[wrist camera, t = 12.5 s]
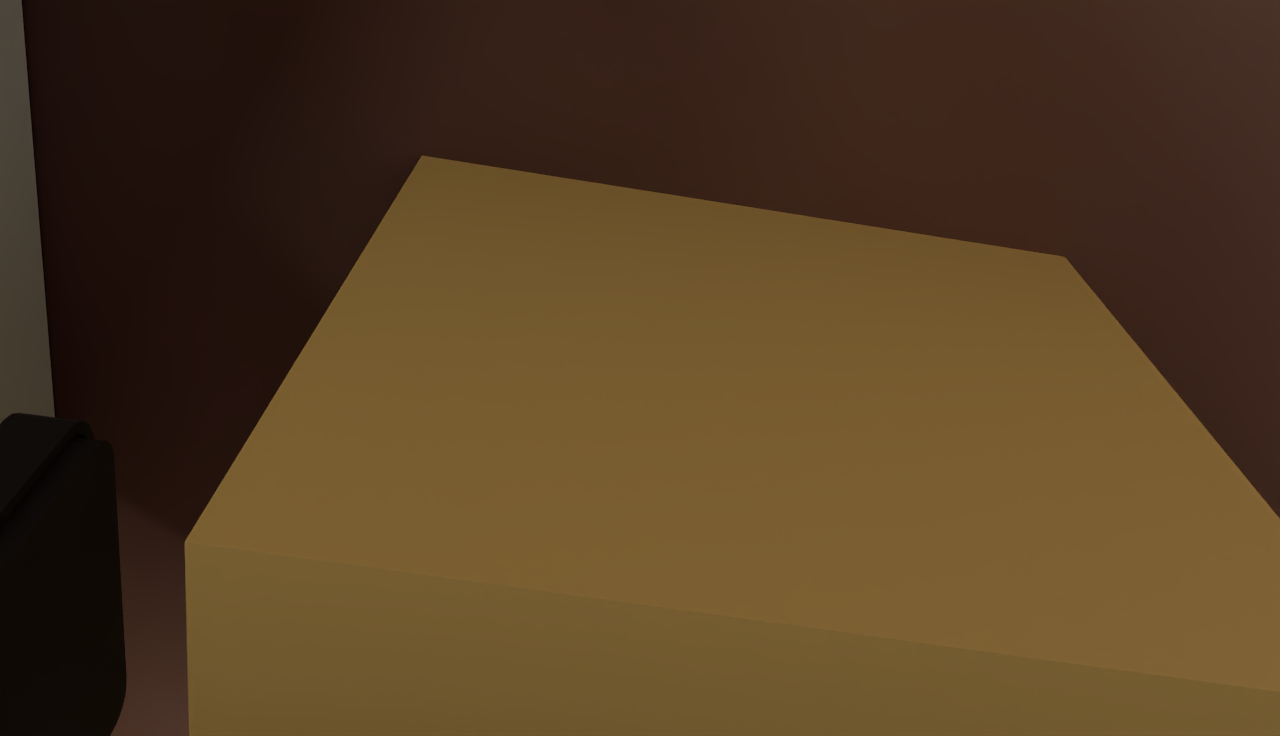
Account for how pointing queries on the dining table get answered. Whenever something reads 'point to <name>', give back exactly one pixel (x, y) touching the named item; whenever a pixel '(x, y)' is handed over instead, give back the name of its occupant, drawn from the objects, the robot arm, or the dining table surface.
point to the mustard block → (722, 492)
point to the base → (20, 237)
